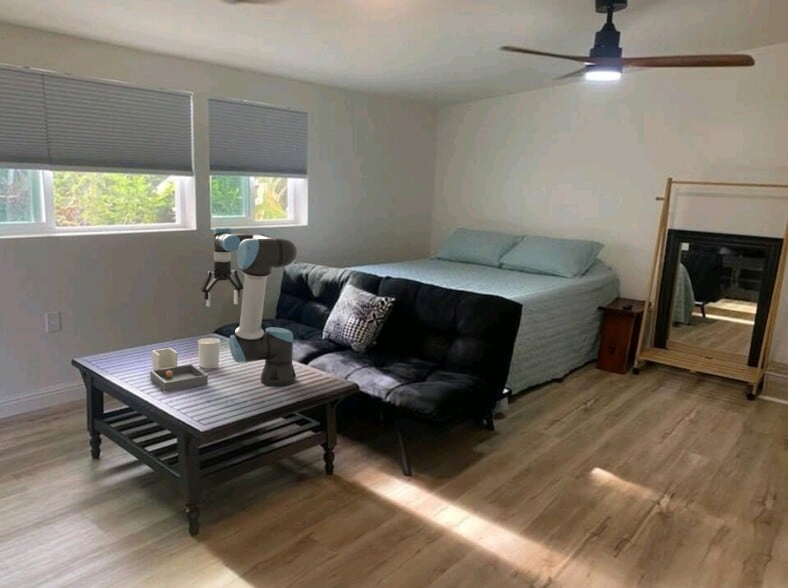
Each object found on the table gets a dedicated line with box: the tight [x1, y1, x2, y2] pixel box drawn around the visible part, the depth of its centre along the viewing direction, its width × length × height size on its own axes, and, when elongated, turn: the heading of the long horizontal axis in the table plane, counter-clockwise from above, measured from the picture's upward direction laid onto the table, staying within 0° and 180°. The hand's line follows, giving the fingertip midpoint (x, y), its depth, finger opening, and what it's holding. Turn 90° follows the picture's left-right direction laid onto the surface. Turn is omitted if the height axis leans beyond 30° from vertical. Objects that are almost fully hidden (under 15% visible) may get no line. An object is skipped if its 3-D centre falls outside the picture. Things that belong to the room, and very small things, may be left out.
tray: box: [149, 363, 209, 393], centre depth 236 cm, size 18×18×4 cm
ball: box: [165, 371, 173, 378], centre depth 238 cm, size 3×3×3 cm
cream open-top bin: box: [151, 347, 178, 370], centre depth 248 cm, size 8×8×9 cm
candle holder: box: [197, 337, 221, 369], centre depth 258 cm, size 10×10×12 cm
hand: (222, 305), depth 265 cm, fingers open, 13 cm apart
